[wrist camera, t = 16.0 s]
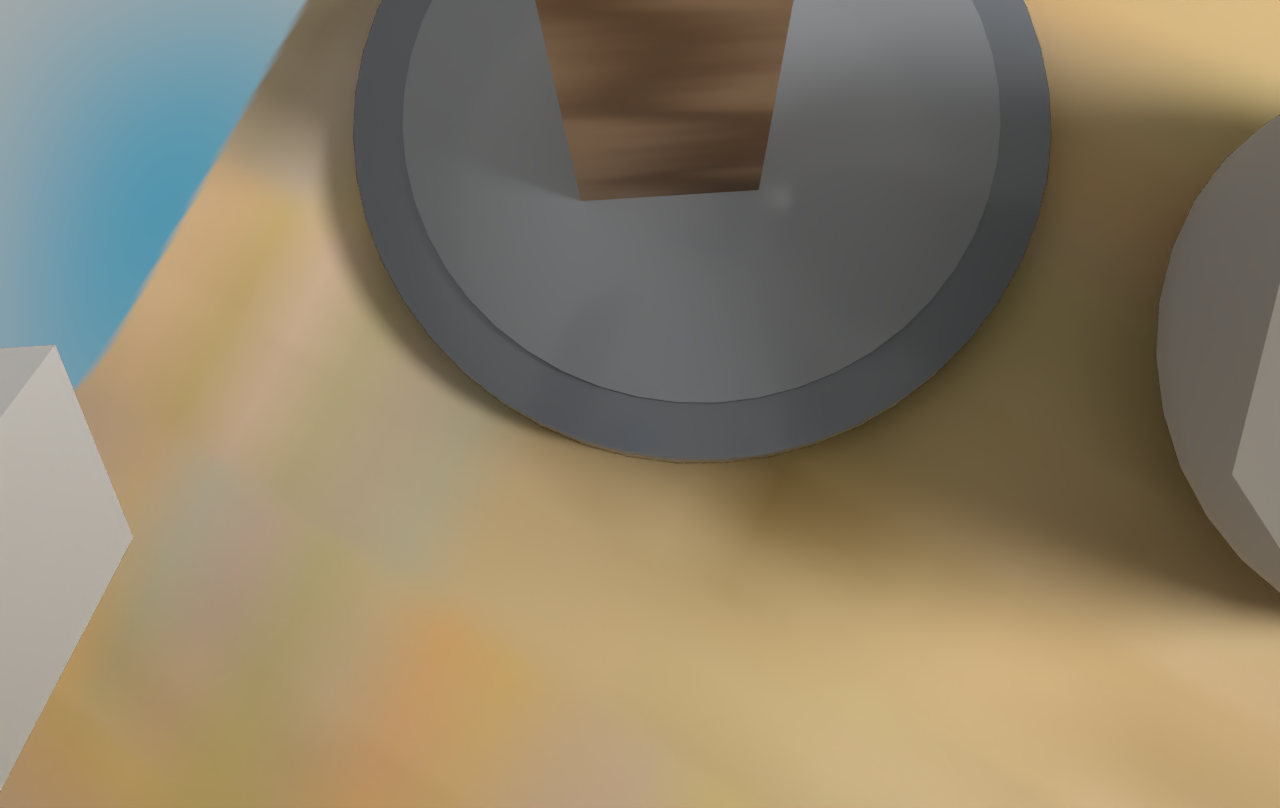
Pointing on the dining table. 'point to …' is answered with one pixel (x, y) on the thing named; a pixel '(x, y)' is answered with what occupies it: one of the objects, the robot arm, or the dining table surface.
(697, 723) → the dining table surface
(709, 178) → the walnut block
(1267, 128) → the jar
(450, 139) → the dish
